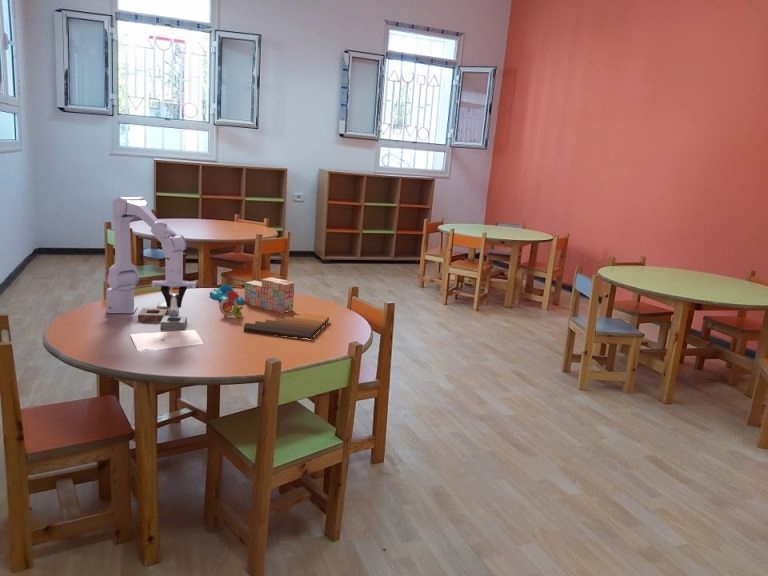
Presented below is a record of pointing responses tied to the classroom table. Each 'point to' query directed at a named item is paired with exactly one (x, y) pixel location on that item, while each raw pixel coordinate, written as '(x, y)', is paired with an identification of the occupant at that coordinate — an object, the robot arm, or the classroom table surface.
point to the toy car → (225, 294)
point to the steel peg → (173, 305)
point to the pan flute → (289, 326)
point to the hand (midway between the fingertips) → (174, 306)
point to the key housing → (162, 304)
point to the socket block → (152, 314)
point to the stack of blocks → (270, 294)
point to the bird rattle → (227, 307)
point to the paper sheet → (165, 339)
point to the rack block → (173, 322)
